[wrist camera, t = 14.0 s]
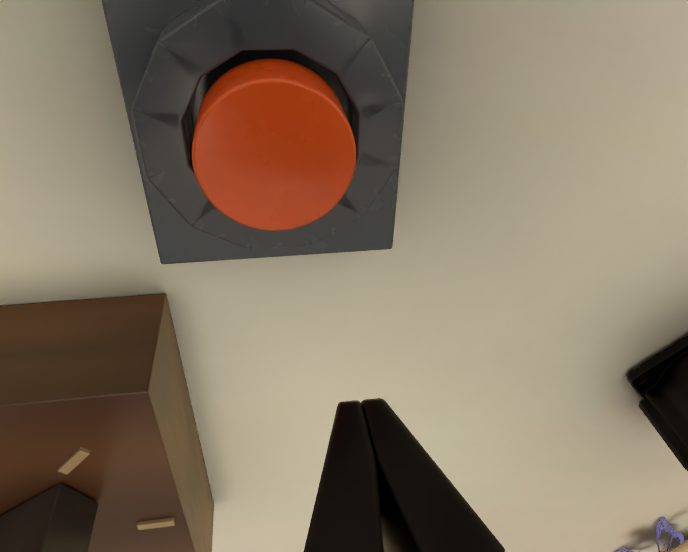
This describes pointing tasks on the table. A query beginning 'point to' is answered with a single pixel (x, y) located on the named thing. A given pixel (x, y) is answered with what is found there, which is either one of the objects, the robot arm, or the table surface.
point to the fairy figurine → (684, 551)
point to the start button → (273, 145)
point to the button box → (237, 48)
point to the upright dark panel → (49, 523)
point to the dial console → (104, 420)
